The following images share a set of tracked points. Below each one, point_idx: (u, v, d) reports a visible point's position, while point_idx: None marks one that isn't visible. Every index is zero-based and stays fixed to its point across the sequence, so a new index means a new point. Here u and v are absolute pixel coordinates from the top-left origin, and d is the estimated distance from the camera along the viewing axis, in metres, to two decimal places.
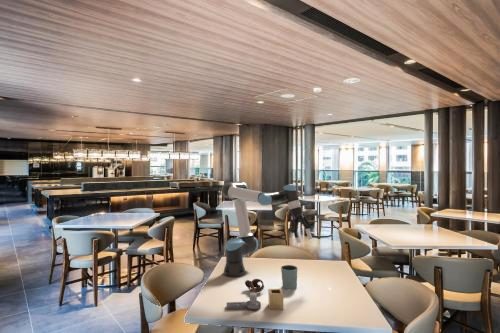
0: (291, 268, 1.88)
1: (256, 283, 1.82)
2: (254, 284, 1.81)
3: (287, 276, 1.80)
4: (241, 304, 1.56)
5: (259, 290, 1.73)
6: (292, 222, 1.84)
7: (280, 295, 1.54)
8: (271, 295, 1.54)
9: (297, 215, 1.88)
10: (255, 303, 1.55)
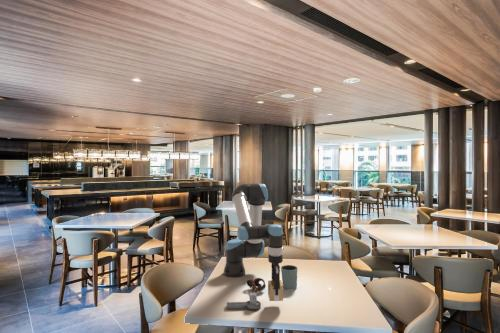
0: (291, 268, 1.88)
1: (257, 282, 1.83)
2: (255, 283, 1.83)
3: (287, 276, 1.80)
4: (241, 304, 1.56)
5: (261, 289, 1.75)
6: (277, 277, 1.51)
7: (280, 287, 1.55)
8: (271, 286, 1.54)
9: (278, 264, 1.56)
10: (255, 303, 1.55)
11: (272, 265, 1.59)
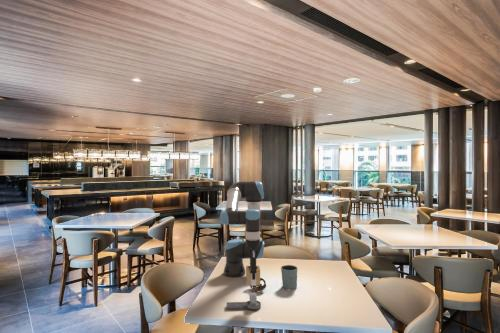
0: (291, 268, 1.88)
1: None
2: None
3: (287, 276, 1.80)
4: (241, 304, 1.56)
5: (261, 289, 1.75)
6: (253, 261, 1.51)
7: (257, 271, 1.54)
8: (248, 271, 1.53)
9: (255, 248, 1.55)
10: (255, 303, 1.55)
11: (250, 250, 1.58)
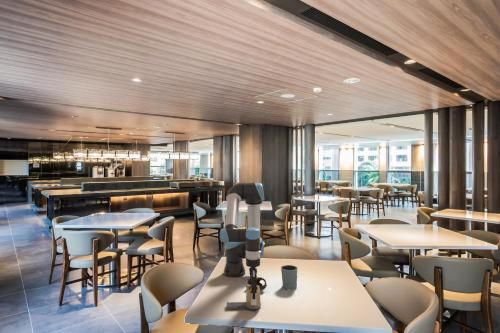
0: (291, 268, 1.88)
1: (258, 281, 1.84)
2: (256, 282, 1.84)
3: (287, 276, 1.80)
4: (241, 304, 1.56)
5: (262, 288, 1.76)
6: (254, 280, 1.50)
7: (257, 292, 1.54)
8: (248, 292, 1.53)
9: None
10: None
11: (250, 269, 1.58)
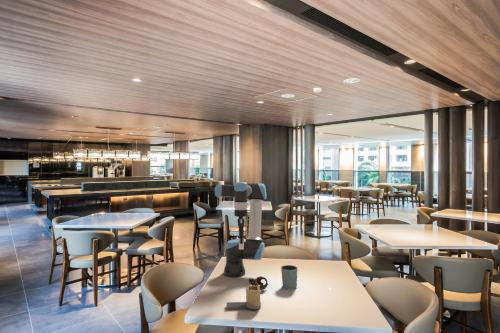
0: (291, 268, 1.88)
1: (259, 281, 1.85)
2: (257, 282, 1.85)
3: (287, 276, 1.80)
4: (241, 304, 1.56)
5: (263, 287, 1.77)
6: (241, 226, 1.63)
7: (257, 292, 1.54)
8: (248, 292, 1.53)
9: None
10: None
11: (238, 220, 1.72)
